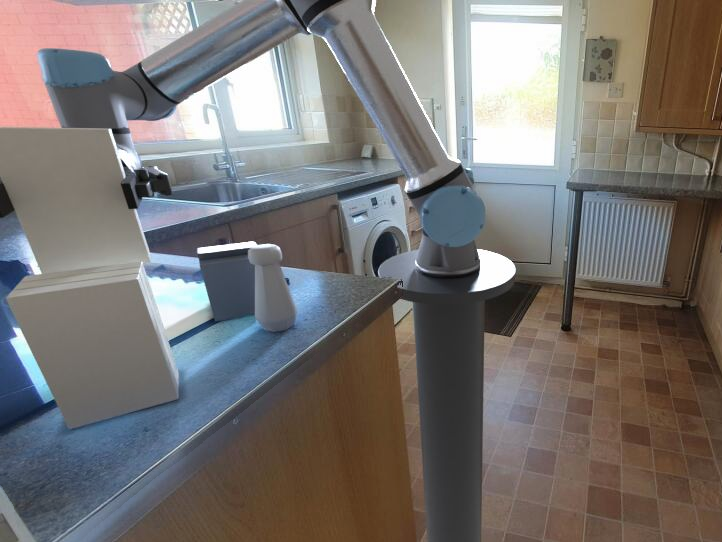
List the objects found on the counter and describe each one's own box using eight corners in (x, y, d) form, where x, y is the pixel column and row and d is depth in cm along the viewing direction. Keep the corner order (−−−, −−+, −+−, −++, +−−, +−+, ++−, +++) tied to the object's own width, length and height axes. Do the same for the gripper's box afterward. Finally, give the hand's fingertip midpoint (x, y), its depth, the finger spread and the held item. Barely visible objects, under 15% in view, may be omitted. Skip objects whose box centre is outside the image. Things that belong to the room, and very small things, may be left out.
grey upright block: (265, 294, 75) (253, 238, 71) (272, 310, 69) (260, 250, 65) (212, 303, 70) (196, 245, 66) (215, 322, 64) (197, 259, 60)
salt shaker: (253, 336, 61) (234, 253, 56) (262, 319, 66) (245, 241, 61) (297, 332, 62) (282, 251, 57) (302, 315, 67) (288, 239, 62)
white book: (151, 257, 51) (111, 128, 45) (150, 262, 49) (108, 129, 43) (47, 270, 46) (-14, 126, 40) (42, 276, 44) (-22, 127, 38)
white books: (178, 372, 52) (142, 261, 46) (178, 399, 47) (137, 279, 41) (80, 397, 47) (25, 275, 41) (68, 430, 42) (5, 298, 36)
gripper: (200, 193, 65) (206, 224, 48) (-7, 204, 53) (-94, 251, 36) (188, 143, 62) (190, 158, 45) (-35, 143, 50) (-143, 163, 33)
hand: (64, 199), depth 41 cm, fingers closed on white book, 9 cm apart
